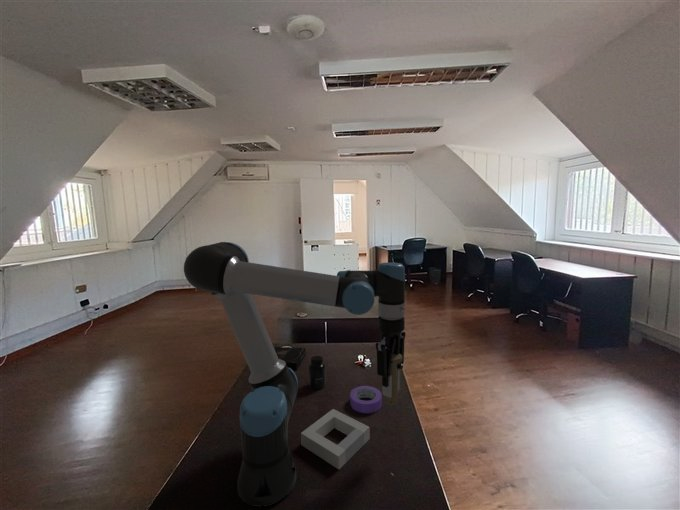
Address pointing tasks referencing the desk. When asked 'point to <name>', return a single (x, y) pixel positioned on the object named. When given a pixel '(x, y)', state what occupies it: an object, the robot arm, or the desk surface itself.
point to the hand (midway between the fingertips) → (390, 391)
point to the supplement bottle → (317, 373)
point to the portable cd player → (291, 356)
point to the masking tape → (365, 405)
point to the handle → (394, 379)
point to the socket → (326, 448)
